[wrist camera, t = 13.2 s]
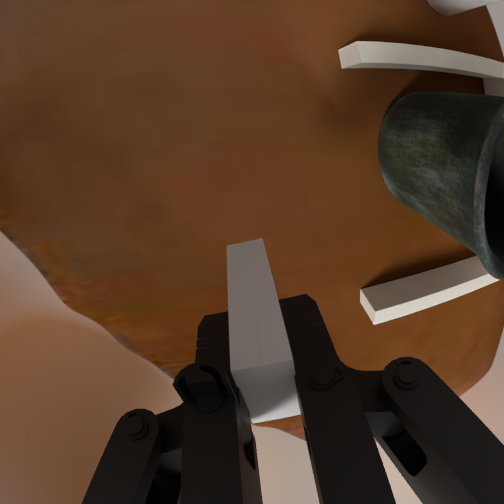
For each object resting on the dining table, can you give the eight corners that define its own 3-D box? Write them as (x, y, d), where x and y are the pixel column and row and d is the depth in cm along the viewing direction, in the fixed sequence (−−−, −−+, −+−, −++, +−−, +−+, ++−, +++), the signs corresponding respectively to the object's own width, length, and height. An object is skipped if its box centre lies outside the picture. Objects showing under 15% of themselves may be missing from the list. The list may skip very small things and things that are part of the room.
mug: (426, 62, 18) (540, 60, 7) (490, 187, 23) (576, 235, 12) (341, 139, 20) (446, 176, 10) (426, 258, 26) (502, 334, 15)
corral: (338, 50, 17) (357, 41, 14) (489, 65, 17) (514, 66, 14) (360, 301, 27) (374, 324, 24) (484, 263, 27) (502, 278, 24)
